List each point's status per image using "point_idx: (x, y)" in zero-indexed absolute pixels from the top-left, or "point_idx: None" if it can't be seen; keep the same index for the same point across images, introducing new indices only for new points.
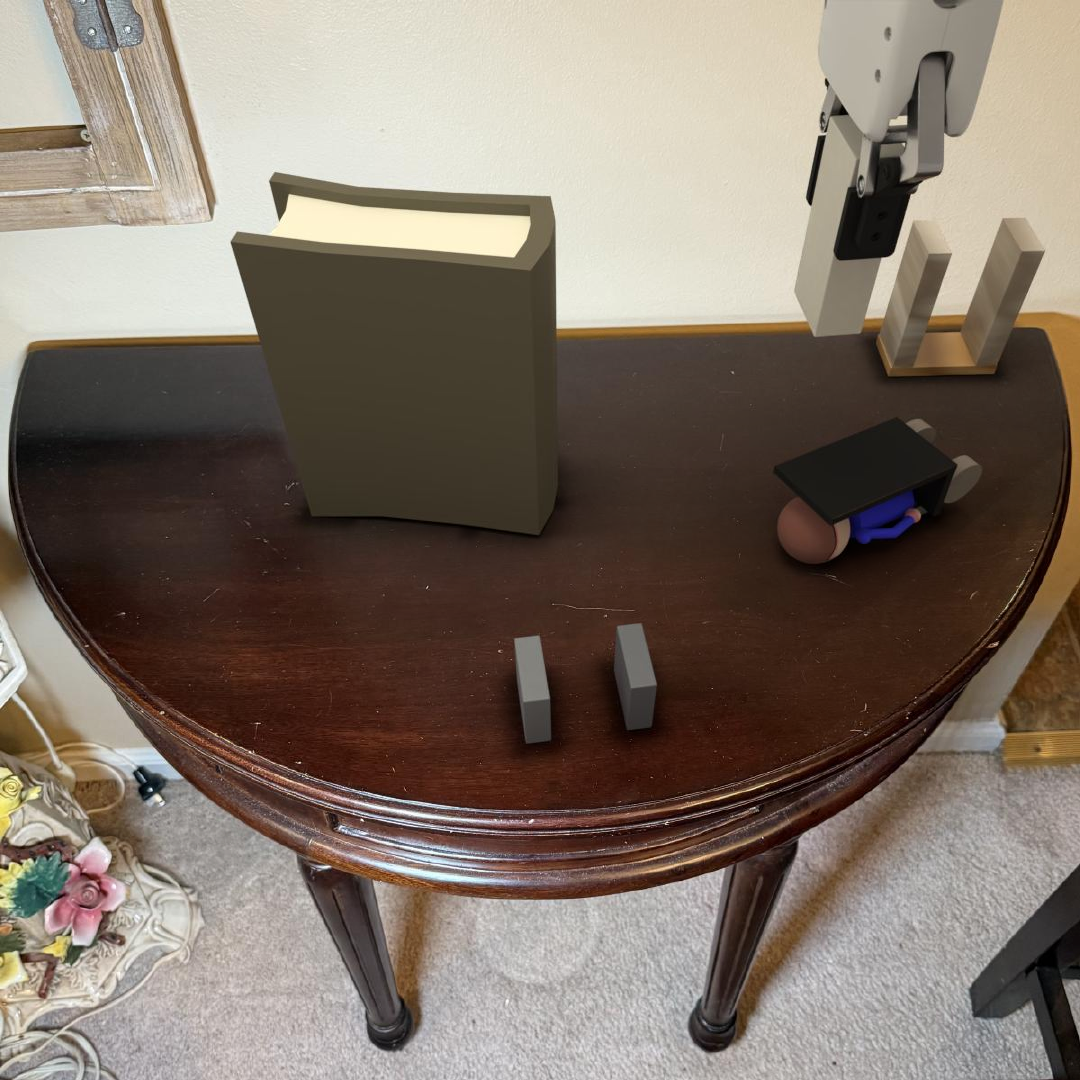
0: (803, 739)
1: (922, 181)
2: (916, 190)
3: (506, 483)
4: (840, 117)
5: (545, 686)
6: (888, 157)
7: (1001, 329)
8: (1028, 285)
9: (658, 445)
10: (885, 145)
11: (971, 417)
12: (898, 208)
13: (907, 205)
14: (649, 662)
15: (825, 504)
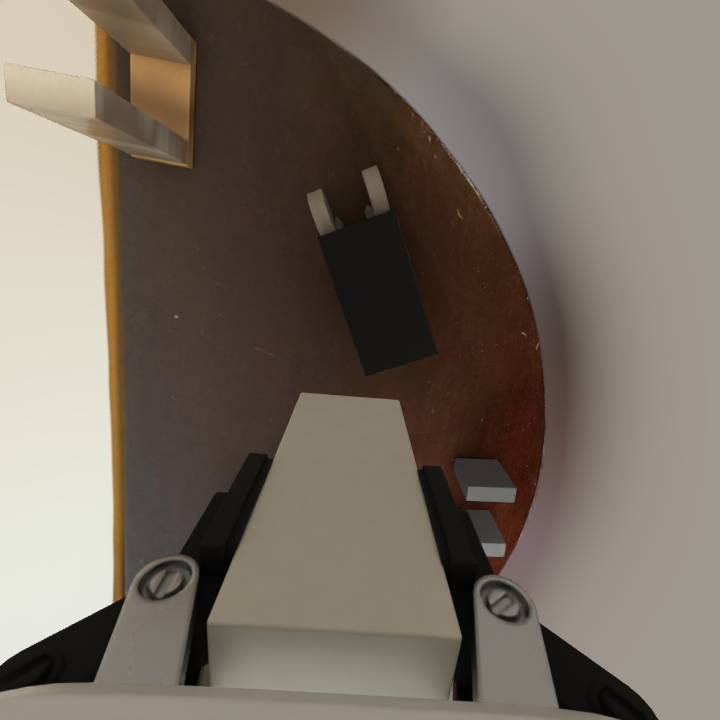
0: (532, 379)
1: (631, 689)
2: (528, 595)
3: None
4: None
5: (497, 544)
6: (452, 680)
7: (166, 21)
8: None
9: (261, 399)
10: (395, 672)
11: (260, 106)
12: (491, 569)
13: (465, 532)
14: (499, 489)
15: (419, 351)
